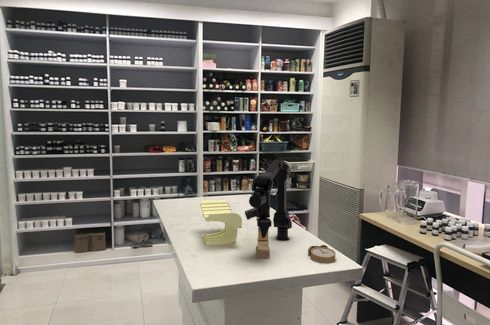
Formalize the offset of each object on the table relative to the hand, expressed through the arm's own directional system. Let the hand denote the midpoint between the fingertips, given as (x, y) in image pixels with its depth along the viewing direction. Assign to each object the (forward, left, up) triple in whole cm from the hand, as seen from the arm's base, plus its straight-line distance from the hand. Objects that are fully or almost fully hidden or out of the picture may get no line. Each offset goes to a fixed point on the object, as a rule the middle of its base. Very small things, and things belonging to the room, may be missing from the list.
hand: (263, 236), depth 178 cm
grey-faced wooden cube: (0, 0, -1) cm, 1 cm away
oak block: (0, 0, -6) cm, 6 cm away
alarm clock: (+1, +27, -10) cm, 29 cm away
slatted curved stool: (-23, -21, -10) cm, 33 cm away
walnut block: (0, 0, -10) cm, 10 cm away
